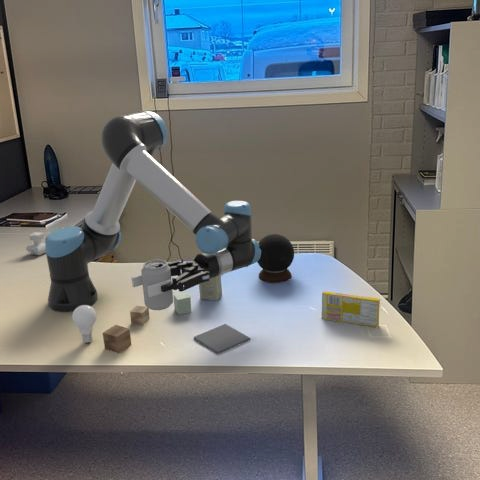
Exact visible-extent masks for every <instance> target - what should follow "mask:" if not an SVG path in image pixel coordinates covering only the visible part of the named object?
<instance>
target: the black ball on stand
mask: <svg viewBox="0 0 480 480" xmlns="http://www.w3.org/2000/svg"><path fill="white" fill-rule="evenodd" d="M258 244H259V248H260V249H261V257H260V259H259V260H258V261H257V262H256V263H257V264H258V266H259V267H260V268H261V270H260V272H259V273H258V278H259V280H261V281H262V282H265V283H267V284H268V283H269V284H270V283H271V284H280V283H285V282H287V281H289V280H291V278H292V273H291V271H290V270H289V269H288V268H289V267H291V265H292V263H293V261H294V259H295V250H294V245H293V244H292V242H291V241H290V240H289V239H288V238H287V237H285V236H284V235H282V234H278V233H277V234H276V233H275V234H274V233H273V234H268V235H266V236H264V237H263V238H261V239H260V240H259V241H258Z"/></svg>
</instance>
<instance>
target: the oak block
mask: <svg viewBox="0 0 480 480" xmlns="http://www.w3.org/2000/svg"><path fill="white" fill-rule="evenodd" d="M129 316H130V324H131V325H139V326H142V325H143V326H144V325H145V324H146V323H147V322H149V320H150V309H149V308H148V307H146V306H145V305H143V306H142V305H135V306H134V307H133V308H132V309H131V310H130V311H129Z"/></svg>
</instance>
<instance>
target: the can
mask: <svg viewBox="0 0 480 480" xmlns="http://www.w3.org/2000/svg"><path fill="white" fill-rule="evenodd" d="M168 263H169V262H167V261H166V260H164V259H152V260H148V261H146V262H144V263H143V265H142V269H141V271H140V272H141V274H142V283H143V285H142V291H143V300H144V306H145V307H148V308H149V310H152V311H163V310H166V309H169V308H170V307H171V305H172V304H174V294H173V289H172V290H170V291H167V292H164V293H161V294H158V295H155V296H152V297H149V296H148V287H147V286H150V285H154V284H157V283H160V282H163V281H166V280H169V279H170V280H171V282H172V276H171V270H170V267H169V266H168V265H167V264H168Z"/></svg>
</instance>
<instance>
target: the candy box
mask: <svg viewBox="0 0 480 480" xmlns="http://www.w3.org/2000/svg"><path fill="white" fill-rule="evenodd" d="M380 302H381V299H380V298H378V297H370V296H362V295H354V294H349V293H348V294H347V293H341V292H332V291H325V290H323V291H322V293H321V319H322V320H326V319H327V321H334V322H339V321H340V322H339V323H346V324H347V323H348V324H351V323H352V324H353V325H357V326H358V325H360V326H364V327H371V328H376V327H377V329H378V328H379V325H380V308H381V307H380V306H381V305H380V304H381V303H380Z"/></svg>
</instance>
